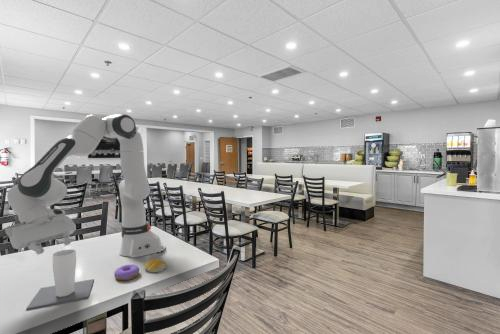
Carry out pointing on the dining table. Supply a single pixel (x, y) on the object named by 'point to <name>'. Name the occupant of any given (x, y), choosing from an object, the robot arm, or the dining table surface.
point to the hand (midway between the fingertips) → (55, 248)
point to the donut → (126, 272)
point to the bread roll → (155, 266)
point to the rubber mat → (49, 297)
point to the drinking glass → (64, 272)
